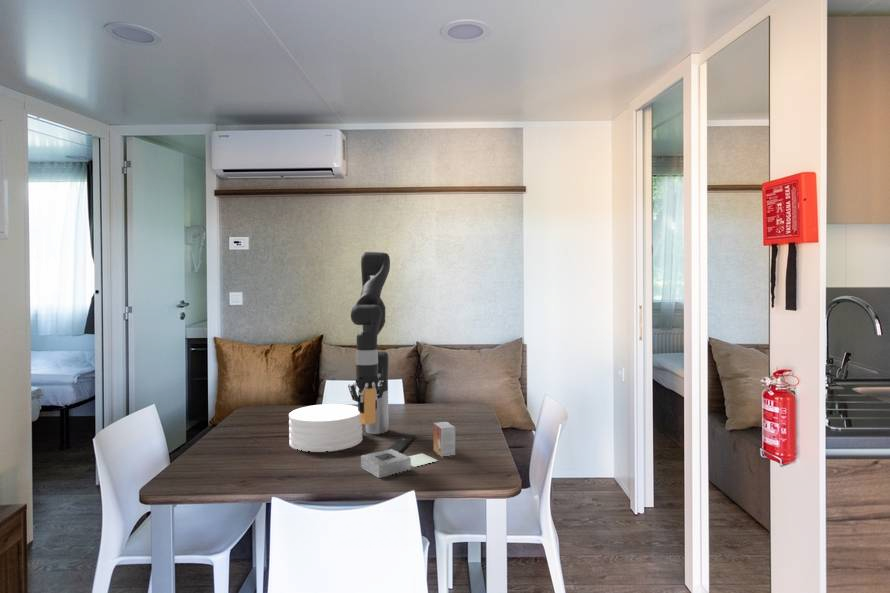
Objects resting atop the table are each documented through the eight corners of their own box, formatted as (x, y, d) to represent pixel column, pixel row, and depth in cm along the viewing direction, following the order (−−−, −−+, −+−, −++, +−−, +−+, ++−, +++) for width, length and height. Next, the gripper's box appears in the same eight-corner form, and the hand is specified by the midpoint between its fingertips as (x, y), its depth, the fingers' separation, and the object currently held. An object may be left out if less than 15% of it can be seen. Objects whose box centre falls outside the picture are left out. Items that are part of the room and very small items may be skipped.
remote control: (416, 438, 216) (415, 435, 216) (397, 458, 192) (397, 454, 192) (403, 438, 217) (403, 434, 217) (383, 457, 193) (383, 453, 193)
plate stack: (346, 454, 196) (346, 422, 195) (275, 449, 201) (275, 419, 201) (372, 433, 223) (371, 405, 223) (309, 429, 229) (308, 402, 228)
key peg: (359, 422, 188) (359, 387, 187) (369, 420, 190) (369, 386, 190) (365, 424, 184) (364, 389, 184) (375, 422, 187) (375, 388, 186)
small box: (433, 451, 198) (433, 422, 198) (447, 449, 200) (447, 421, 200) (440, 457, 191) (440, 428, 191) (455, 455, 193) (455, 426, 193)
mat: (398, 459, 189) (398, 458, 189) (422, 454, 195) (422, 453, 195) (414, 467, 181) (414, 466, 181) (438, 461, 187) (438, 460, 187)
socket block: (361, 467, 181) (360, 455, 181) (391, 460, 188) (391, 448, 188) (378, 477, 172) (378, 465, 171) (410, 469, 179) (410, 457, 179)
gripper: (379, 359, 194) (380, 407, 194) (343, 363, 185) (343, 412, 186) (390, 361, 188) (390, 411, 188) (353, 365, 179) (353, 417, 180)
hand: (367, 411), depth 187 cm, fingers closed on key peg, 4 cm apart
